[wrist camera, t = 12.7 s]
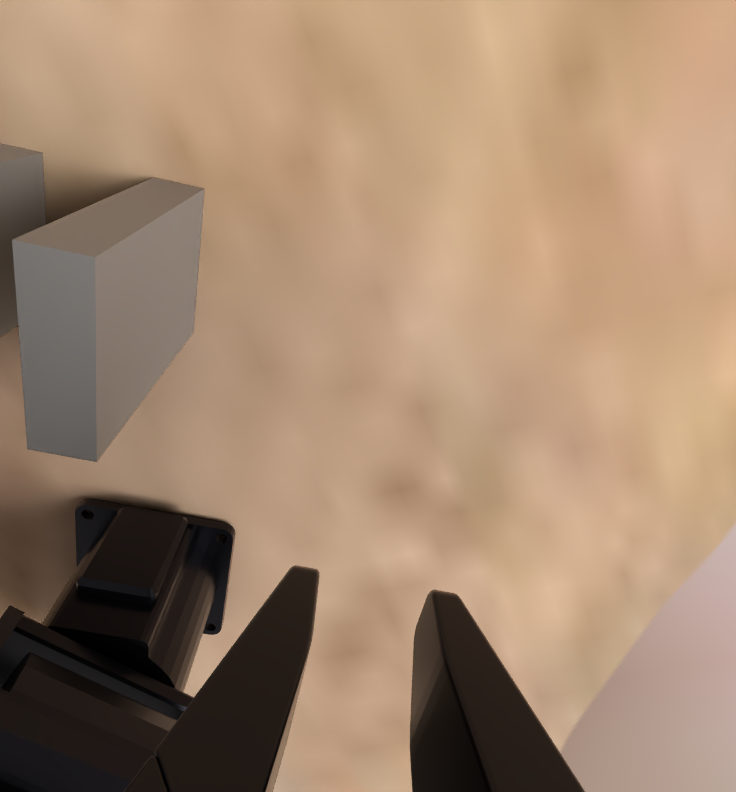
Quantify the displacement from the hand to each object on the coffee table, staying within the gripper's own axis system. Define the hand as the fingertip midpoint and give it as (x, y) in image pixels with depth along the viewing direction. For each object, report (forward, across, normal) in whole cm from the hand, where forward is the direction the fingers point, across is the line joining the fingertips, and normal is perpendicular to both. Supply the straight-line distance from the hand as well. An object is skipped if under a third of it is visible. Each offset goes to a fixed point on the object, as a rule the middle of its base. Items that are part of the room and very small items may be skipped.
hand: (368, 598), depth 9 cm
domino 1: (+13, +7, 0) cm, 15 cm away
